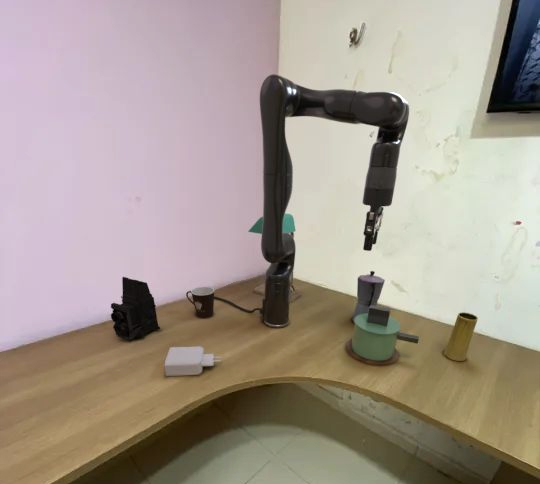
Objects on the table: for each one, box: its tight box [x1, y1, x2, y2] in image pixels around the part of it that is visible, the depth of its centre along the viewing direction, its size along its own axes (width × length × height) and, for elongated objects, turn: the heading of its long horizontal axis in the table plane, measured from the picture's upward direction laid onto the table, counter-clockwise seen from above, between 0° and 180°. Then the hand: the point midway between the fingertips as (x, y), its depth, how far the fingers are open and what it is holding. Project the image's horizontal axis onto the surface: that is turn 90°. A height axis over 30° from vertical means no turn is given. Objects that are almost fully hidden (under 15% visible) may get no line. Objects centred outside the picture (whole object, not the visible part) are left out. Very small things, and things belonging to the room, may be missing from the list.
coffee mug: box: [185, 286, 215, 319], centre depth 120 cm, size 12×9×10 cm
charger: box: [164, 345, 222, 377], centre depth 90 cm, size 5×9×15 cm
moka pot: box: [351, 270, 386, 323], centre depth 114 cm, size 10×15×20 cm, turn 174°
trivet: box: [346, 338, 399, 367], centre depth 100 cm, size 16×16×1 cm
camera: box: [110, 276, 161, 341], centre depth 102 cm, size 10×14×20 cm
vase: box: [443, 311, 479, 362], centre depth 95 cm, size 6×6×14 cm
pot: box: [351, 305, 420, 361], centre depth 96 cm, size 19×14×15 cm
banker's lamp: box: [247, 213, 301, 303], centre depth 135 cm, size 16×21×35 cm
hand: (369, 247), depth 89 cm, fingers open, 8 cm apart
